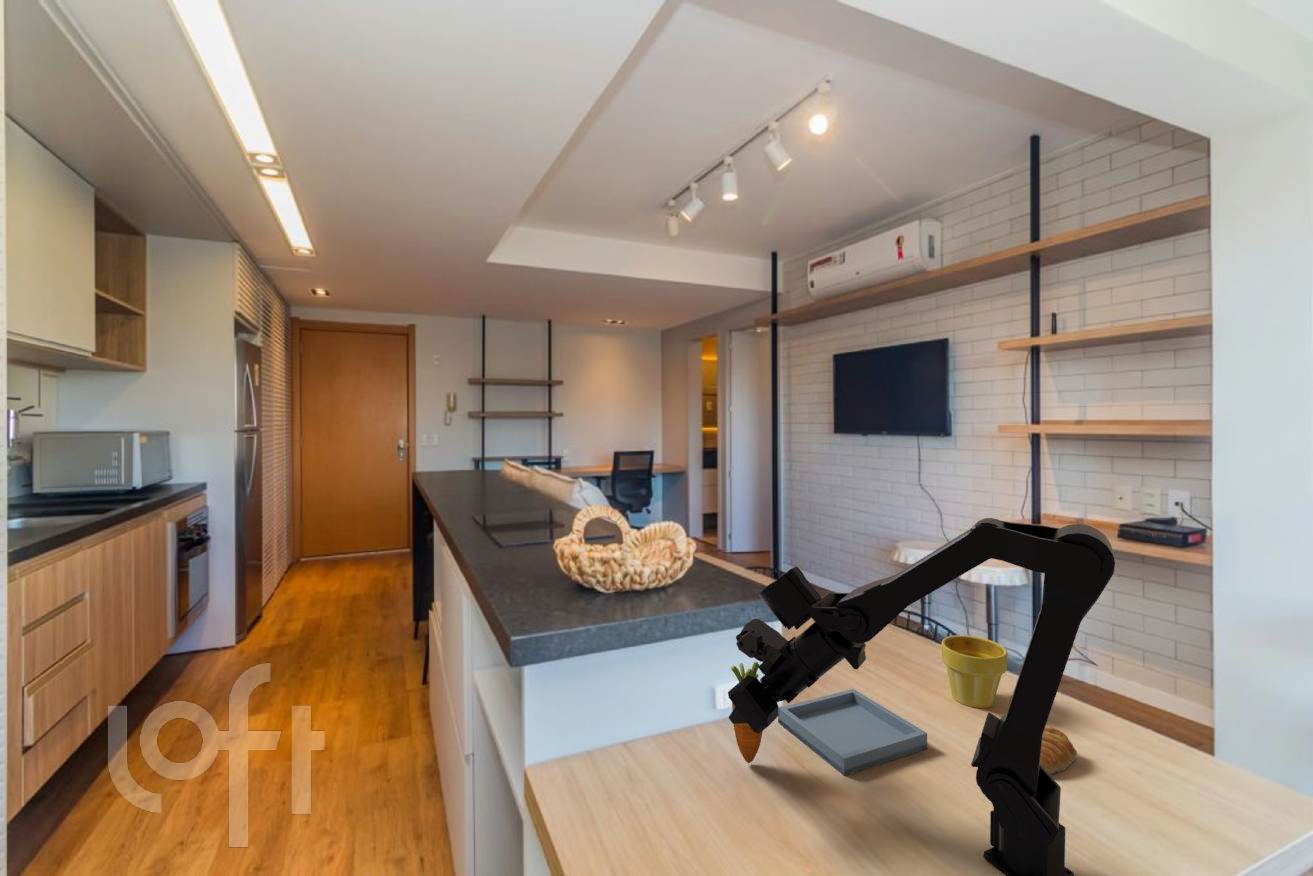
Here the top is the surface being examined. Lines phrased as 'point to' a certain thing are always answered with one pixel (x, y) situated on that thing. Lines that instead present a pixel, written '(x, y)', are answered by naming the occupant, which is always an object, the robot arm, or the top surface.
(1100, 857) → the top surface
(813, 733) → the tray
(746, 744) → the carrot
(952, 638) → the plant pot
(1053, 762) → the pastry
